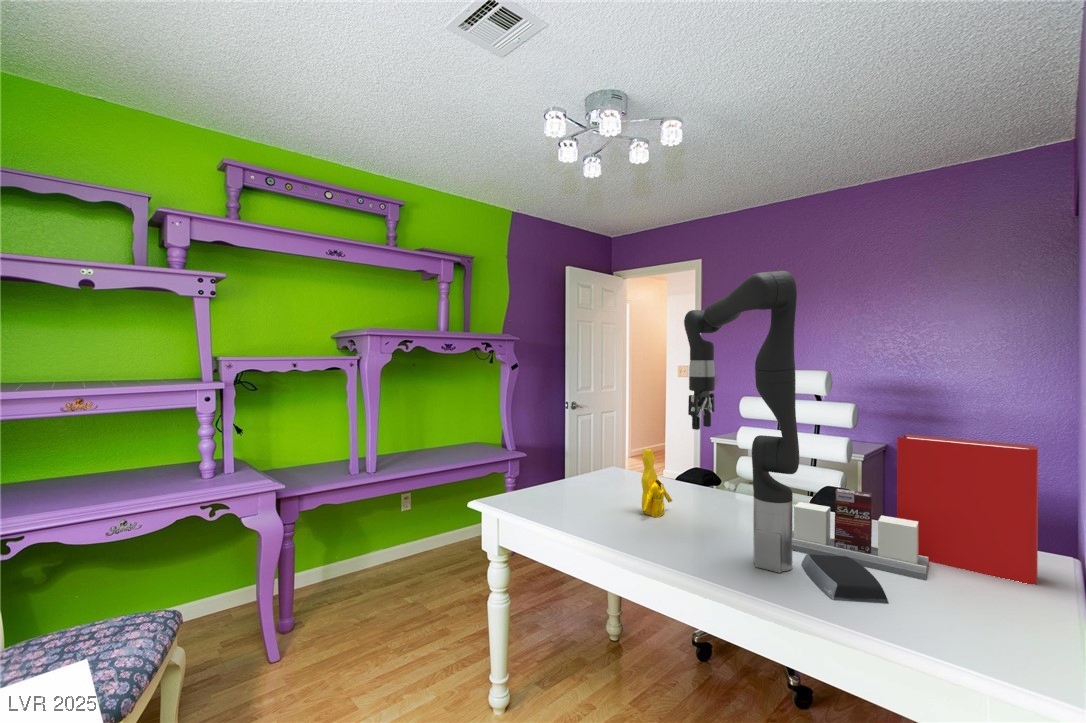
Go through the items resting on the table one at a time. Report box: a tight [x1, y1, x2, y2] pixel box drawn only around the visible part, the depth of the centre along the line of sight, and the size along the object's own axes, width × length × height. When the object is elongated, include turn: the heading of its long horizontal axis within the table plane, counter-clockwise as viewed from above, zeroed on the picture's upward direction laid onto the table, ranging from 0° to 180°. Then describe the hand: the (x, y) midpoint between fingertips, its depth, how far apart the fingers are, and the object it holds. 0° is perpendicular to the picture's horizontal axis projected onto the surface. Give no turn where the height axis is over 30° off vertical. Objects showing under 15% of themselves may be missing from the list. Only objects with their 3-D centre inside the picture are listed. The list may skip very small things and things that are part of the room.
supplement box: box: [833, 488, 873, 555], centre depth 137 cm, size 9×5×16 cm, turn 58°
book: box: [896, 433, 1039, 585], centre depth 131 cm, size 27×8×32 cm, turn 44°
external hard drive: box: [800, 553, 889, 604], centre depth 121 cm, size 13×19×4 cm
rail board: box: [792, 501, 930, 581], centre depth 137 cm, size 12×32×12 cm, turn 50°
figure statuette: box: [641, 448, 673, 518], centre depth 174 cm, size 18×8×22 cm, turn 136°
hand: (701, 428), depth 156 cm, fingers open, 8 cm apart
